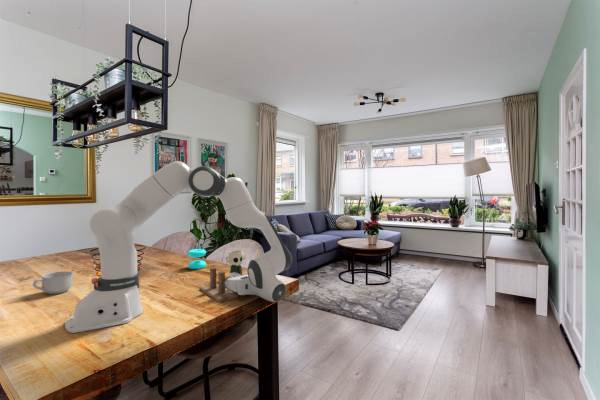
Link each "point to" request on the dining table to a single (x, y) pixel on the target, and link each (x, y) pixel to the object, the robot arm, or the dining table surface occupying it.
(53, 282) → the teacup
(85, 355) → the dining table surface
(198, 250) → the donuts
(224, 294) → the stand
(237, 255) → the character mug
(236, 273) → the rail
